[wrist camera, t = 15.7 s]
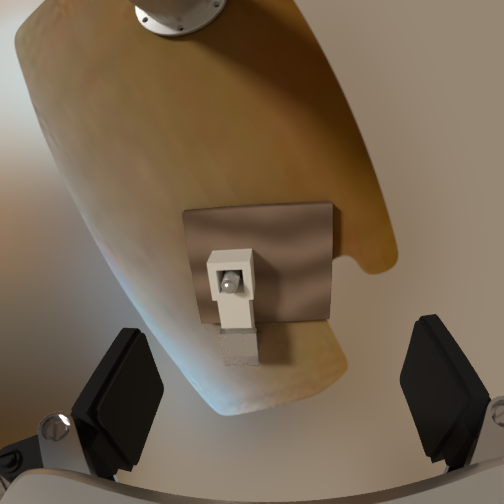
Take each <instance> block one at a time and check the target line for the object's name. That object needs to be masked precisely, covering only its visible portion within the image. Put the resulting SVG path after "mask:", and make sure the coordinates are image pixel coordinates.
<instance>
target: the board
mask: <svg viewBox="0 0 504 504" xmlns="http://www.w3.org/2000/svg"><path fill="white" fill-rule="evenodd" d="M182 217H183V224H184V230H185V237H186V243H187V249H188V255H189V261H190V266H191V272H192V277H193V283H194V288H195V293H196V299H197V304H198V309H199V314H200V319H201V323H221V321H220V315H219V309H218V302H217V301H213V300H212V294H211V288H210V282H209V276H208V270H207V261H208V259H209V257H210V255H211V253H212V251H216V250H234V249H252V253H253V264H254V275H255V291H254V299H253V300H252V301H253V311H254V322H255V323H259V322H285V321H304V320H320V319H329V317H330V301H331V279H332V247H333V204H332V202H331V201H323V202H299V203H278V204H261V205H245V206H230V207H217V208H204V209H192V210H185V211H184V212H183V213H182ZM225 271H226V270H223V276H224V274H225ZM240 278H243V272H242V271H241V275H240Z"/></svg>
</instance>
